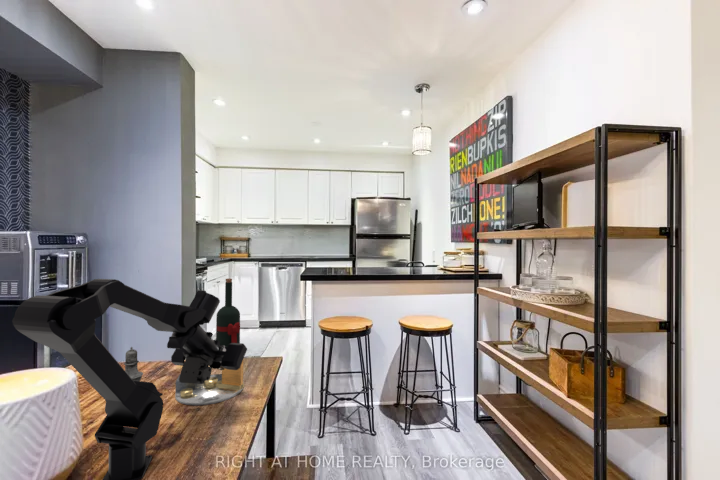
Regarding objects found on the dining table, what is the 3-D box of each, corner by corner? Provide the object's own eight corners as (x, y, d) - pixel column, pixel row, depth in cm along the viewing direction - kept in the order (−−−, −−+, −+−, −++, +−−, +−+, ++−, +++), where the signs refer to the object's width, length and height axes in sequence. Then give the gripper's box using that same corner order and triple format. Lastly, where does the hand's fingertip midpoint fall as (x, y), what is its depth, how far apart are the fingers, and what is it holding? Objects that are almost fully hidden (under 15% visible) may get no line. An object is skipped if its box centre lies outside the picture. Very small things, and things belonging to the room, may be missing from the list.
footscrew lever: (201, 386, 94) (201, 351, 94) (209, 381, 98) (210, 347, 98) (238, 391, 91) (238, 355, 92) (245, 385, 95) (245, 351, 95)
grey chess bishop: (130, 393, 93) (131, 350, 93) (113, 391, 94) (113, 349, 94) (147, 384, 99) (148, 344, 99) (131, 382, 100) (132, 342, 100)
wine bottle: (224, 373, 107) (225, 281, 107) (211, 364, 114) (212, 278, 114) (247, 367, 113) (248, 279, 113) (233, 359, 120) (234, 276, 120)
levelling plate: (242, 400, 90) (242, 379, 90) (167, 409, 84) (168, 387, 84) (244, 374, 107) (245, 357, 107) (182, 380, 101) (183, 362, 101)
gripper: (142, 370, 76) (178, 395, 87) (214, 376, 72) (242, 402, 83) (168, 327, 84) (198, 355, 94) (235, 330, 80) (258, 359, 91)
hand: (223, 368), depth 90 cm, fingers closed
